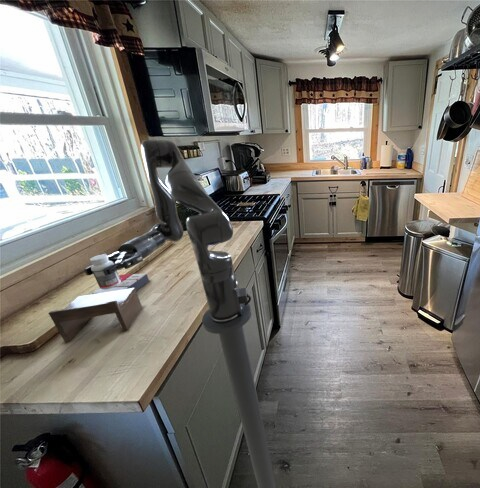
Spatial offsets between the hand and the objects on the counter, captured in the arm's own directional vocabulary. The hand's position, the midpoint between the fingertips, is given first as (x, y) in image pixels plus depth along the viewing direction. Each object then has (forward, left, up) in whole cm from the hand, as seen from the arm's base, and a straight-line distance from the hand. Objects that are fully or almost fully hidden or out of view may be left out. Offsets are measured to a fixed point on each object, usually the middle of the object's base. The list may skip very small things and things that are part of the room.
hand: (96, 272), depth 76 cm
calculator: (+6, -20, -18) cm, 27 cm away
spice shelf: (+3, 0, -18) cm, 18 cm away
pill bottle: (-1, -2, -6) cm, 7 cm away
